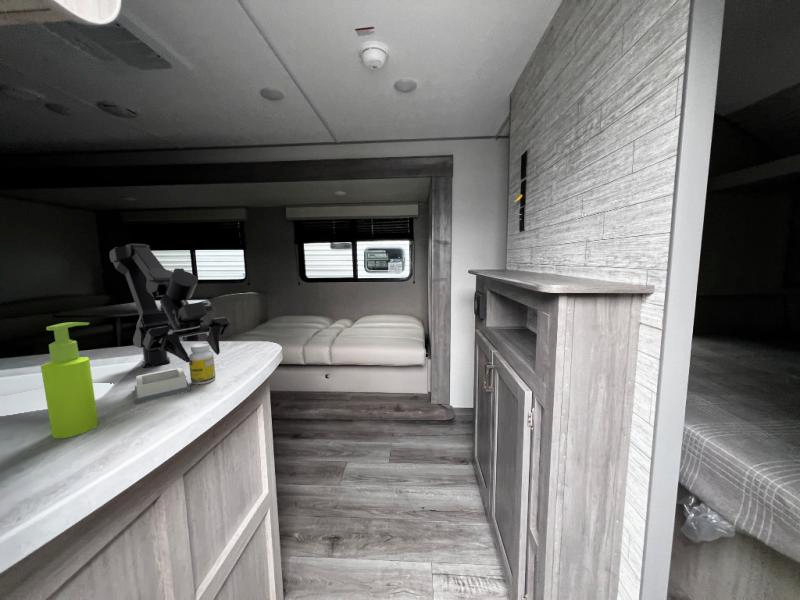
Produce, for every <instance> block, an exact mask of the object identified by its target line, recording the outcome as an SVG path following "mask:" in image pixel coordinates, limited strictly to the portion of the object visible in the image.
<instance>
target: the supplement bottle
mask: <svg viewBox="0 0 800 600" xmlns="http://www.w3.org/2000/svg"><path fill="white" fill-rule="evenodd" d="M190 351H191V352H192V353H191V354H189V355H188V356H189V359H190V361H189V362H188V364H189V376H190V383H191V384H193V385H198V384H200V385H206V384H209V383H212V382H214V381H215V379H216V369H215V357H214V351H211V346H210V345H209V343H208V342H200V343H194V344H192V345H191V346H190Z"/></svg>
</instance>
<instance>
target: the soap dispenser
mask: <svg viewBox="0 0 800 600" xmlns="http://www.w3.org/2000/svg"><path fill="white" fill-rule="evenodd" d="M89 325H90V322H86V321H85V322H84V321H82V322H81V321H80V322H79V321H73V322H72V321H69V322H68V321H67V322H62V323H56V324H53V325H50V326H49V325H48V326H46V331H53V335H54V340H55V341H53V342H52V343H50V344H48V350H49V355H50V356H49V357H50V361H49V362H46V363H44V364H41V365H40V371H41V376H42V382H43V387H44V393H45V401H46V406H47V413H48V418H49V424H50V431H51V437H52V438H53V439H66V438H71V437H75V436H79V435H82V434H85V433H87V432H89V431H92V430H93V429H95V428H96V427H97V426H98V425H99V420H98V413H97V406H96V405H97V404H96V397H95V391H94V384H93V377H92V376H93V375H92V369H91V364H90V362H91V361H90V358H89V357H87V356H80V355H79V354H80V353H79V347H78V341H76V340H73V339H70V334H69V329H68V328H72V327H76V326H78V327H79V326H89Z"/></svg>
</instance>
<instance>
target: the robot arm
mask: <svg viewBox="0 0 800 600" xmlns="http://www.w3.org/2000/svg"><path fill="white" fill-rule="evenodd" d="M108 253H109V260H110V262H111V263H112V264H113V266H114V269H116V271H117V272H119V273H120V274H121V275H124V276H125V279H126V282H127V284H128V286H129V289H130V293H131V296H132V298H133V301H134V304H135V306H136V309H137V312H138V315H139V319H138V320H137V323H136V326H135V328H136V329H135V332H134V334H133V337H132V342H133V346H134V347H136V348H139V349H141V348H142V354H143V355H142V356H143V360H142V368H148V367H147V366H150V367H153V366H152V365H155V366H158V365H157V364H161V365H163V364H162V363H167V364H169V363H168V362H170V363H171V360H170V357H169V356H168V353H170V354H172V355H174V356H175V357H177V358H179V359H180V360H183V362H185V363H189V361H190V359H189V356H190V355H189V354H188V352H187V351H186V349H185V347H184V346H183V344H182V342H181V341H180V338H185V337H190V336H195V335H200V334H206V335H207V337H206V343H209V346H210V349H212V350H213V351H212V352H213V353H215V354H216V356H218V355H220V353H221V352H220V351H221V350H220V340H219V338H220V337H221V336H223V335H225V334H226V332H227V331H228V329H229V326H230V325H231V321H230V320H229V318H228V317H227V316H222V317H221V316H220V317H215V318H214V317H213V318H211V320H210V322H209V323H208V324H205V325H201V324H202V323H204V320H205V319H204V317H206V316H207V315H208V314H210V313H211V312H213V311H214V308H213V307H214V306H213V304H212V303H211V301H210V300H202V301H201V302H196V303H195V302H194V303H189V301H188V300H189V299H191V298H192V296H193V295H194V293H195V290H196V287H197V285H198V282H199V279H198V276H196V275H195V274H193V273H191V272H189V271H187V270H186V271H185V269H184V267H183V268H174V269H173V271H171V270H169V269H166V268H165V267H164V266H163V265H162V263H161V262H160V261H159V260H158V258H157V257H156V255H155V254H154V253H153V252H152V248H151V246H150V245H149V244H146V243H130V244H126V245H123V246H118V247H114V248H112V249H111V250H110V251H109V252H108ZM158 297H160V301H159V303H160V309H159V308H158V304H157V302H156V300H155V298H158Z"/></svg>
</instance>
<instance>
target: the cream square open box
mask: <svg viewBox="0 0 800 600" xmlns="http://www.w3.org/2000/svg"><path fill="white" fill-rule="evenodd" d="M135 379H136V385H135V386H134V402H135V403H134V404H139V403H144V402H148V401H153V400H157V399H161V398H166V397H170V396H173V395H179V394H182V392H183V393H186V391H187V392H190V391H191V387H190V385H189V382H188V380H187V376H186V374H185V372H184V369H183V368H182V367H178V368H177V367H176V368H171V369H166V370H160V371H155V372H149V373H145V374H141V375H136V378H135Z"/></svg>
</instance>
